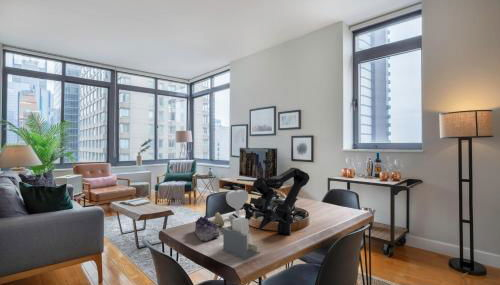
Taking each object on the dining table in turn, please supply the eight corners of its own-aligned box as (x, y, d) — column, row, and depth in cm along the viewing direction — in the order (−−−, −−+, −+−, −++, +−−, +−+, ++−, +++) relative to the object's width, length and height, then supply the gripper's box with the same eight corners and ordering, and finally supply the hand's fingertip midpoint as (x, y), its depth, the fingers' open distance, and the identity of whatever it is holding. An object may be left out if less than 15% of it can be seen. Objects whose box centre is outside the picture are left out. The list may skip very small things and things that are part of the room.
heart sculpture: (245, 214, 182) (244, 188, 183) (249, 216, 178) (248, 189, 178) (225, 218, 174) (225, 191, 174) (229, 220, 169) (229, 192, 170)
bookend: (238, 244, 130) (238, 223, 130) (259, 252, 120) (259, 230, 120) (223, 250, 122) (222, 228, 122) (244, 259, 113) (243, 236, 113)
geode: (187, 232, 148) (189, 214, 149) (206, 231, 153) (208, 214, 154) (200, 242, 130) (202, 222, 131) (221, 241, 136) (223, 221, 137)
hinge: (250, 232, 146) (244, 216, 145) (243, 236, 144) (237, 220, 143) (238, 224, 161) (233, 209, 160) (232, 227, 159) (226, 213, 158)
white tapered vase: (241, 246, 126) (240, 216, 126) (249, 249, 122) (249, 218, 122) (232, 249, 121) (232, 219, 122) (241, 253, 118) (241, 221, 118)
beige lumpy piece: (204, 222, 148) (199, 218, 156) (209, 236, 150) (204, 231, 157) (221, 214, 153) (215, 210, 161) (225, 227, 155) (220, 223, 162)
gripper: (244, 187, 136) (229, 214, 129) (273, 194, 124) (259, 224, 117) (254, 198, 143) (241, 224, 136) (283, 206, 130) (269, 235, 123)
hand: (251, 226), depth 128 cm, fingers open, 9 cm apart
